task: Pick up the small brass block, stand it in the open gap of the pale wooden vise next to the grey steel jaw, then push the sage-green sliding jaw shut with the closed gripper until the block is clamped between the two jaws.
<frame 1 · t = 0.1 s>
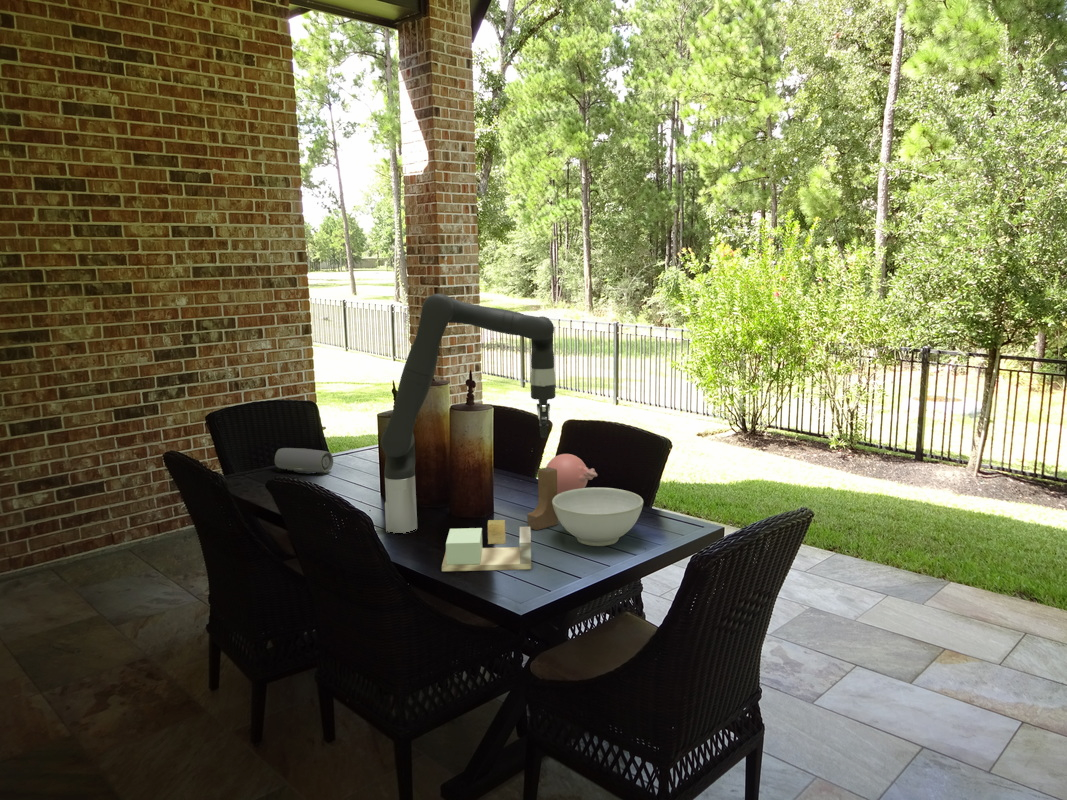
hand: (543, 434, 239), 29 cm above the table, tool pointing down, fingers open, 8 cm apart
brass block: (496, 541, 230), on the table
decorative bowl: (597, 539, 231), on the table
bluetooth speaker: (304, 473, 315), on the table
sliding jaw: (464, 545, 214), point 5 cm above the table, slide at 0.0 cm
vise: (487, 561, 215), on the table
balloon: (572, 498, 273), on the table
wooden block: (542, 526, 243), on the table
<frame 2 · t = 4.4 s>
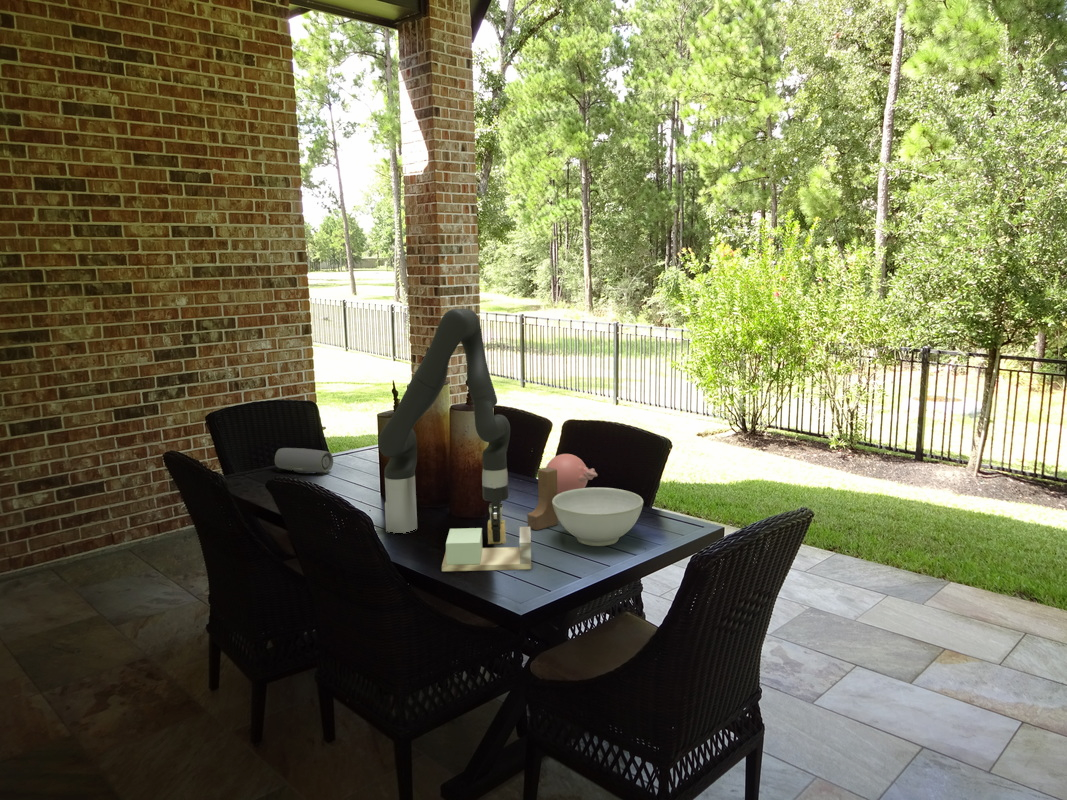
hand: (496, 538, 230), 1 cm above the table, tool pointing down, fingers closed on brass block, 4 cm apart
brass block: (497, 541, 230), on the table, touching gripper
everything else where it was.
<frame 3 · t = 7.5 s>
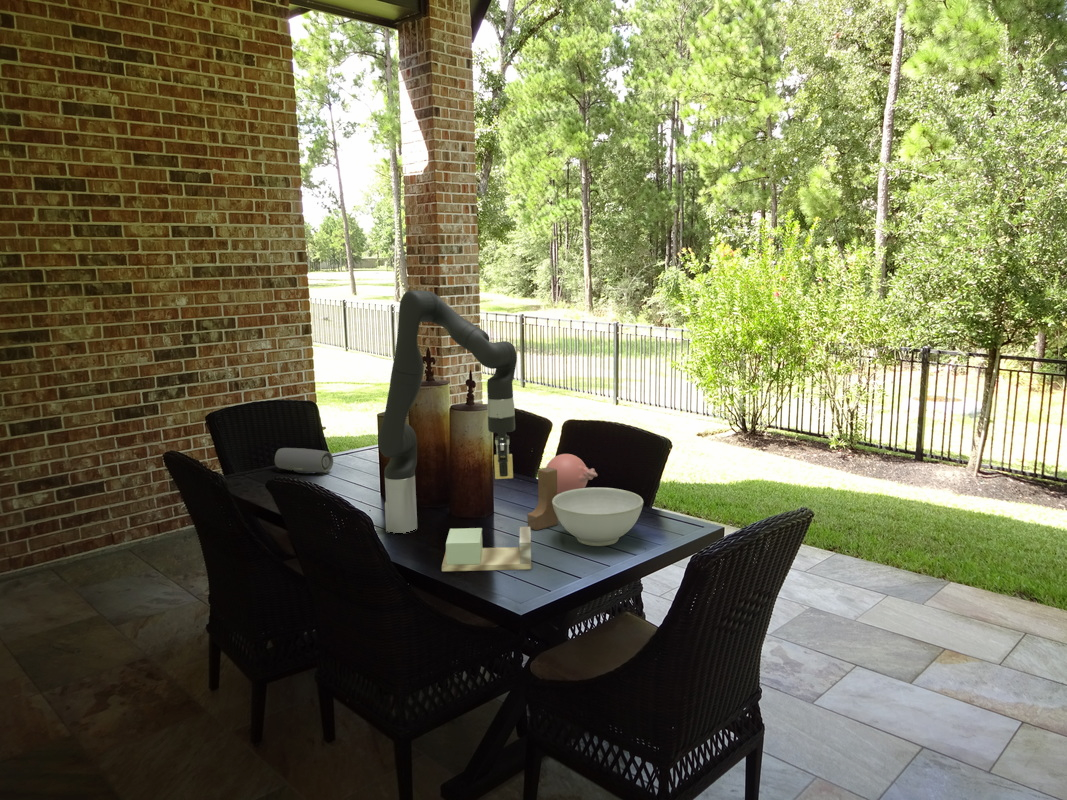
hand: (503, 473, 218), 23 cm above the table, tool pointing down, fingers closed on brass block, 4 cm apart
brass block: (504, 476, 218), point 22 cm above the table, touching gripper
everything else where it was.
when the fingers open (3 cm above the table, at t = 11.0 s): brass block stays where it is, resting on vise.
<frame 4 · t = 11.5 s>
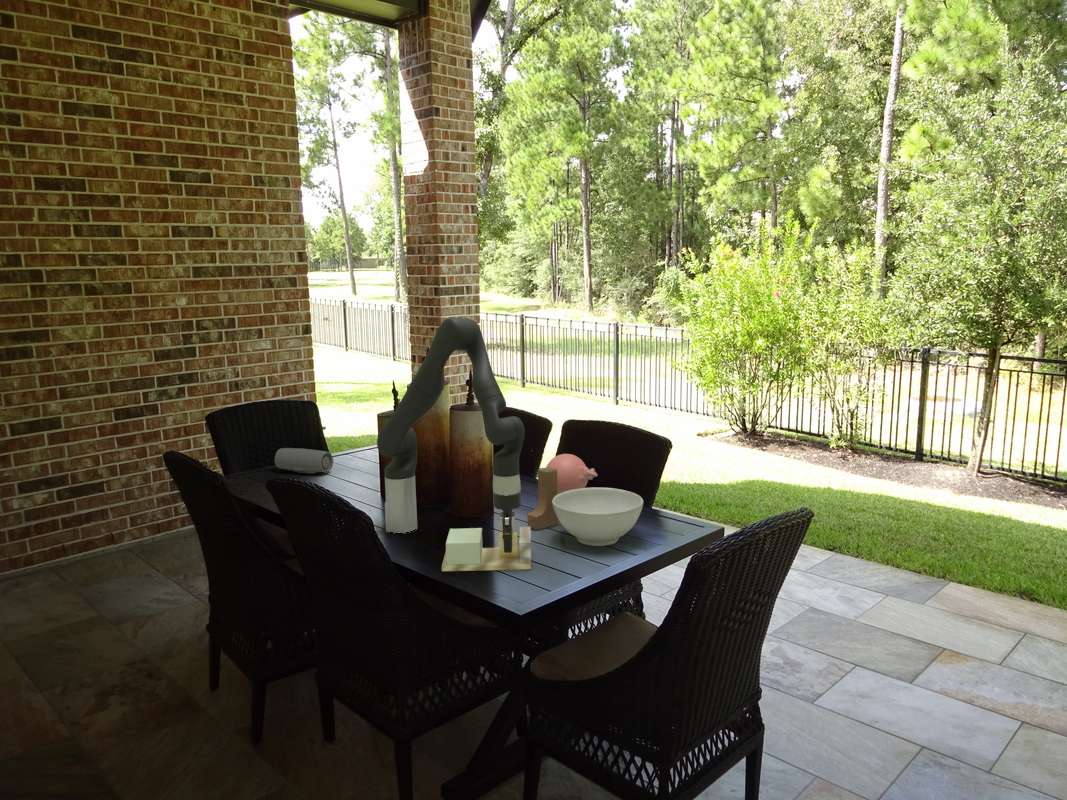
hand: (508, 546, 214), 4 cm above the table, tool pointing down, fingers open, 8 cm apart
brass block: (508, 555, 214), point 1 cm above the table, touching vise
everything else where it was.
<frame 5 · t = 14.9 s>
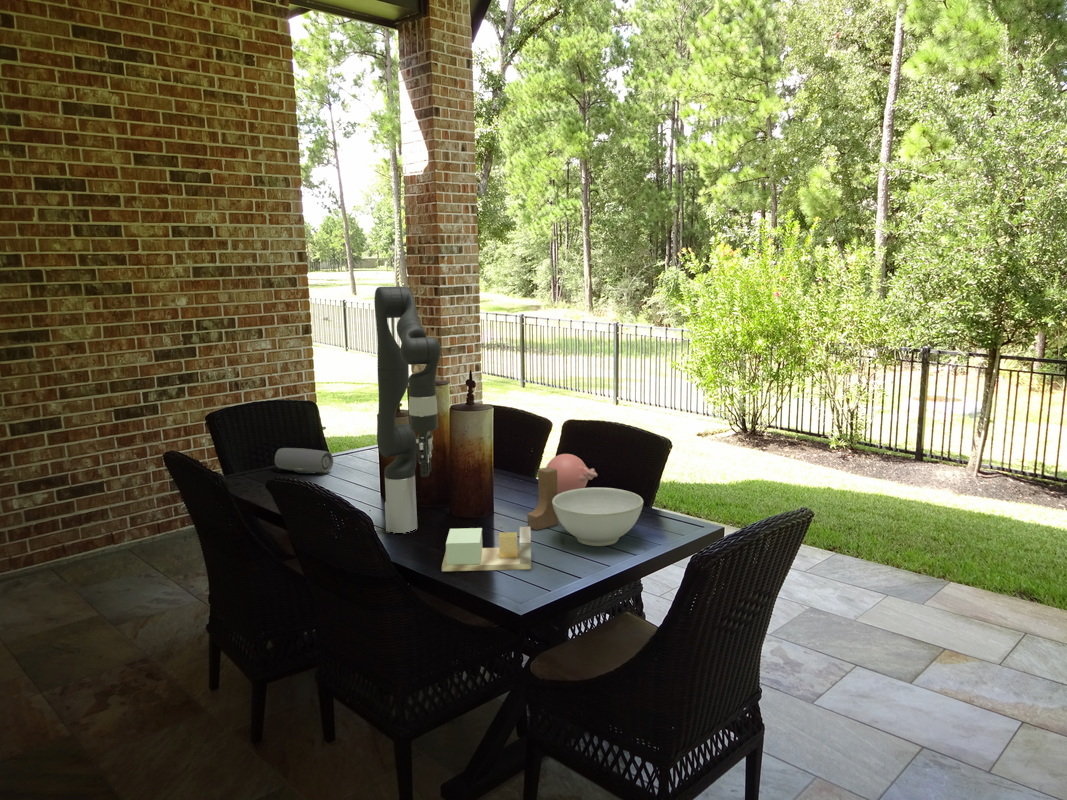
hand: (425, 474, 210), 25 cm above the table, tool pointing down, fingers open, 4 cm apart
nothing on the table moved.
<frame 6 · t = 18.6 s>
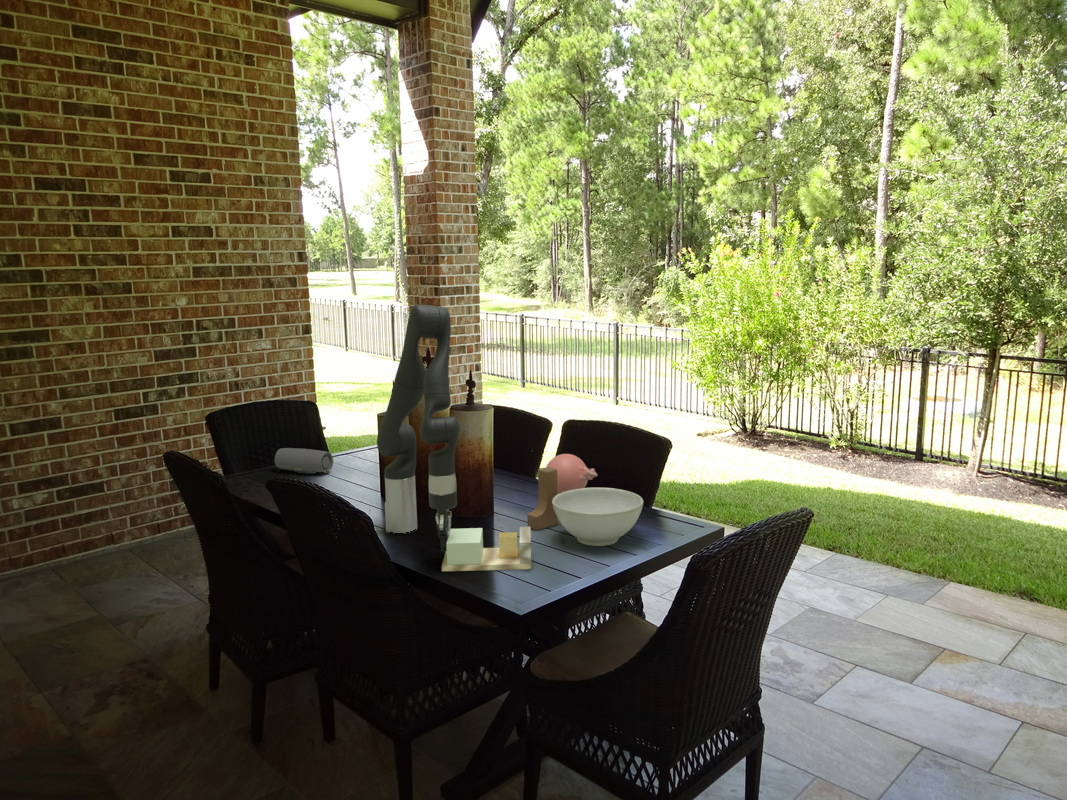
hand: (445, 550, 214), 4 cm above the table, tool pointing down, fingers closed
sliding jaw: (465, 545, 214), point 5 cm above the table, slide at 0.2 cm, touching gripper
everything else where it was.
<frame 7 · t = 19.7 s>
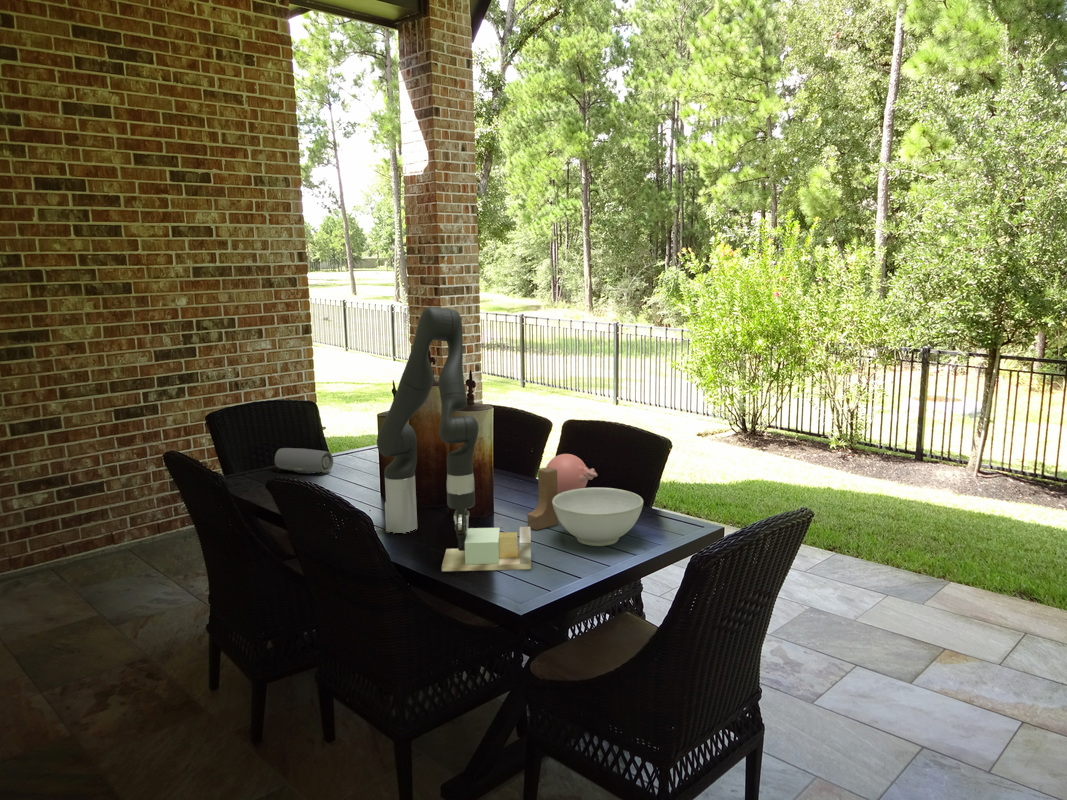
hand: (462, 549, 214), 4 cm above the table, tool pointing down, fingers closed
brass block: (508, 555, 214), point 1 cm above the table, touching sliding jaw, vise
sliding jaw: (483, 545, 214), point 5 cm above the table, slide at 5.0 cm, touching brass block, gripper
everything else where it was.
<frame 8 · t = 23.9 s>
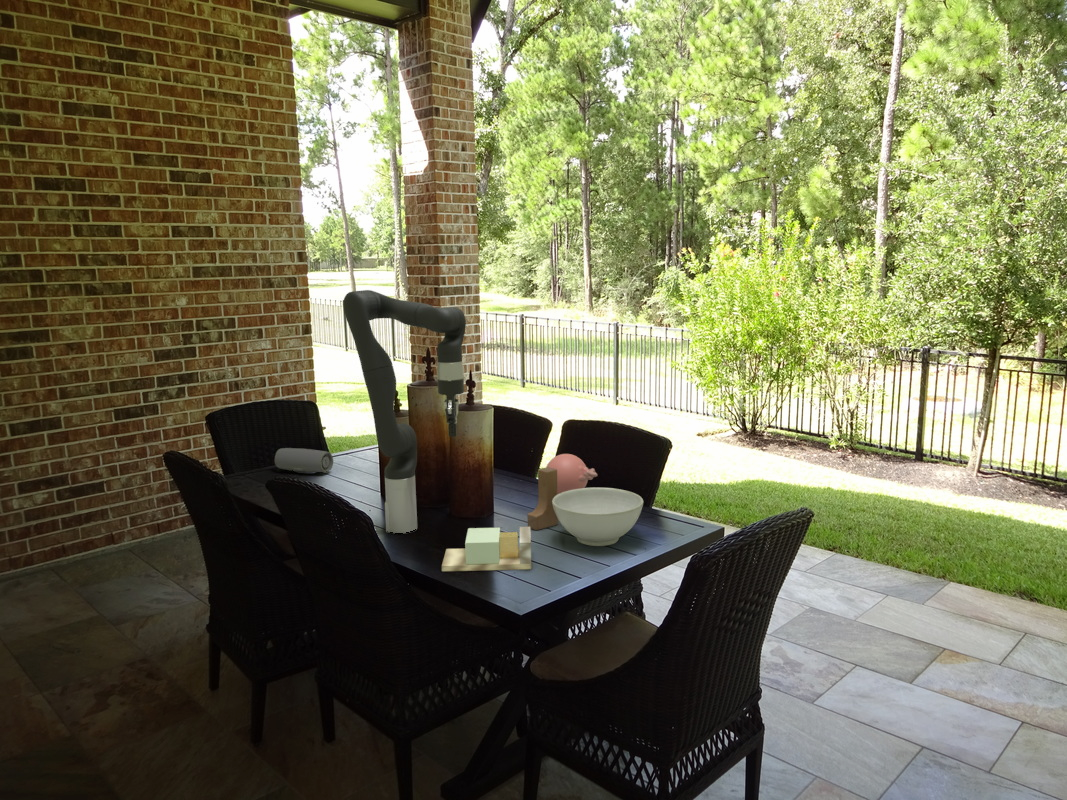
hand: (452, 436, 226), 32 cm above the table, tool pointing down, fingers closed
sliding jaw: (483, 545, 214), point 5 cm above the table, slide at 5.2 cm, touching brass block
everything else where it was.
at the end: sliding jaw slide at 5.2 cm; brass block tilted 0°; brass block 0.1 cm from the target spot on the vise, point 1.5 cm above the vise's base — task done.
